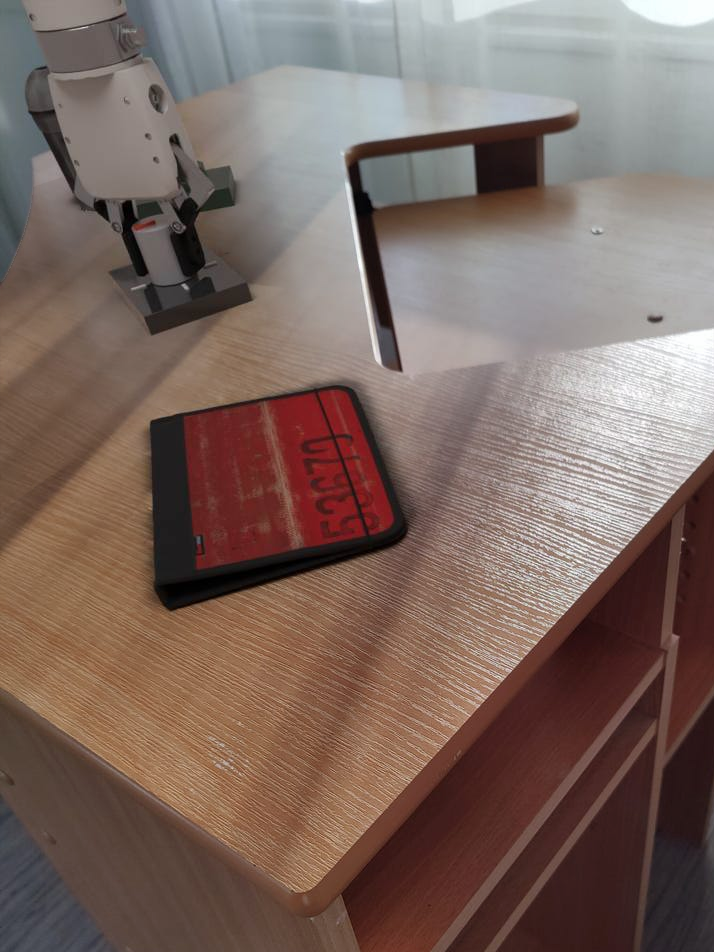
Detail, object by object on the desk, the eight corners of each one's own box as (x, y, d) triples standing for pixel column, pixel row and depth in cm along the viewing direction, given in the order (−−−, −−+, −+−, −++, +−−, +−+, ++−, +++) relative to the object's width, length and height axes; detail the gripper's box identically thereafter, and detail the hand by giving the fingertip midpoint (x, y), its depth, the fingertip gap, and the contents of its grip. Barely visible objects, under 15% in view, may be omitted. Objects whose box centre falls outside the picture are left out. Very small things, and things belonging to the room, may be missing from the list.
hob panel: (119, 300, 90) (106, 270, 87) (211, 270, 92) (201, 240, 90) (156, 348, 80) (143, 315, 78) (256, 313, 83) (246, 280, 81)
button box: (137, 224, 106) (123, 189, 103) (143, 201, 112) (131, 167, 110) (234, 206, 107) (224, 170, 104) (235, 183, 113) (225, 149, 110)
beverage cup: (62, 209, 114) (-17, 26, 100) (114, 191, 117) (44, 11, 103) (83, 220, 110) (4, 30, 95) (136, 201, 112) (66, 15, 98)
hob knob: (182, 263, 86) (163, 207, 83) (205, 272, 84) (186, 215, 80) (143, 279, 85) (121, 223, 81) (165, 289, 82) (143, 231, 78)
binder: (150, 584, 52) (145, 417, 66) (163, 613, 53) (155, 443, 68) (411, 521, 54) (350, 374, 69) (416, 551, 56) (356, 400, 70)
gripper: (202, 28, 71) (267, 255, 84) (36, 43, 76) (121, 255, 89) (153, 52, 66) (230, 289, 79) (-22, 66, 71) (77, 287, 84)
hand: (171, 269), depth 84 cm, fingers closed on hob knob, 4 cm apart
